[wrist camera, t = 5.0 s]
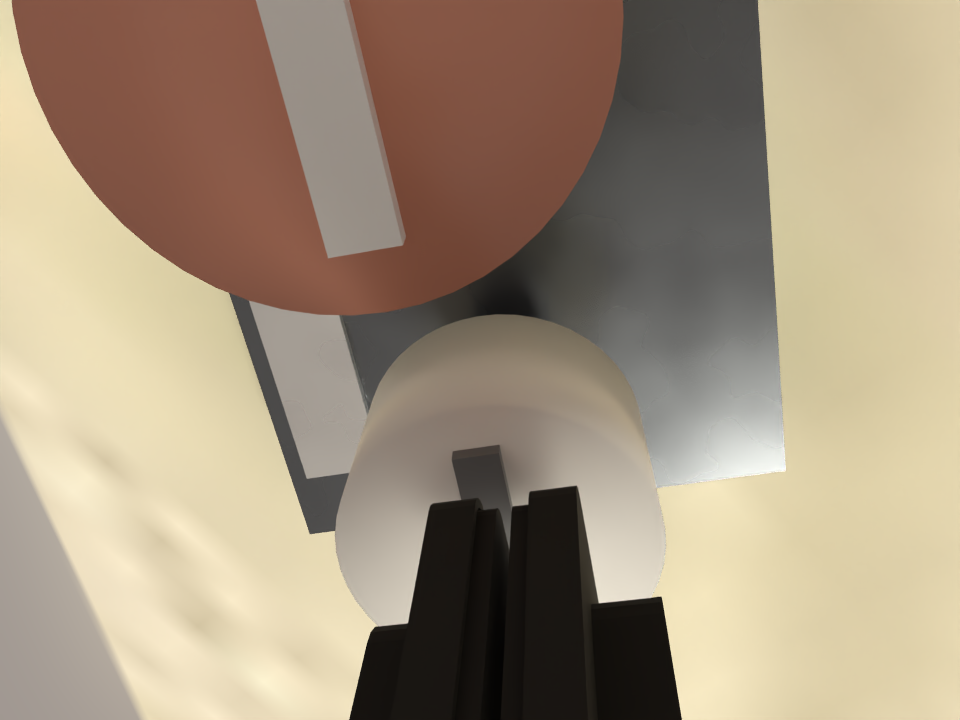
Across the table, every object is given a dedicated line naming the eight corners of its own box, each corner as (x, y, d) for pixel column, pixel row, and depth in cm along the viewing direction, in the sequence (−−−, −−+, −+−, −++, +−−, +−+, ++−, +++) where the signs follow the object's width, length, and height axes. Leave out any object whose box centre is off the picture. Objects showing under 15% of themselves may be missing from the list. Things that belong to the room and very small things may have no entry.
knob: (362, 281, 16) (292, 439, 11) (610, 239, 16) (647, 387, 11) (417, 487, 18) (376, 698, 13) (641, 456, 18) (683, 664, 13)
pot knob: (175, -182, 11) (-120, -256, 6) (553, -273, 10) (576, -438, 5) (283, 186, 13) (128, 363, 8) (606, 127, 12) (659, 276, 7)
